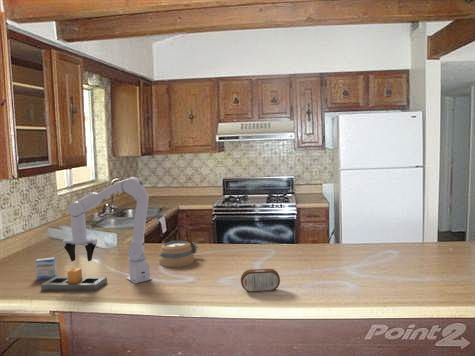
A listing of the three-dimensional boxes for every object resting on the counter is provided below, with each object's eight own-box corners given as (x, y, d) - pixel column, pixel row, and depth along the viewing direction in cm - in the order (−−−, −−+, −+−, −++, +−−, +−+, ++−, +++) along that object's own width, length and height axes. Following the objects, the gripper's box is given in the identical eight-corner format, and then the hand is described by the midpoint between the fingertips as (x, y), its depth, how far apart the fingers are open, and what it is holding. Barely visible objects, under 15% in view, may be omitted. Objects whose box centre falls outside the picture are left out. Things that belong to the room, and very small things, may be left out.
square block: (82, 284, 174) (81, 268, 173) (77, 287, 170) (76, 271, 169) (73, 284, 175) (72, 268, 174) (68, 287, 171) (67, 271, 170)
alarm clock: (151, 247, 195) (174, 236, 217) (152, 266, 196) (175, 253, 217) (183, 249, 189) (203, 237, 211) (184, 268, 190) (204, 254, 212)
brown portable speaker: (279, 288, 159) (279, 267, 158) (280, 291, 156) (280, 269, 155) (241, 290, 158) (240, 269, 158) (241, 293, 155) (240, 272, 155)
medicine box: (36, 280, 182) (35, 261, 182) (38, 277, 187) (37, 258, 186) (55, 277, 185) (54, 259, 184) (57, 274, 189) (55, 256, 188)
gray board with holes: (107, 282, 175) (106, 276, 174) (95, 291, 165) (95, 285, 165) (55, 282, 179) (55, 276, 178) (41, 290, 169) (40, 284, 168)
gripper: (99, 227, 177) (101, 257, 178) (68, 227, 179) (70, 258, 181) (91, 230, 170) (93, 262, 172) (59, 231, 172) (61, 262, 174)
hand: (81, 260), depth 176 cm, fingers open, 7 cm apart
